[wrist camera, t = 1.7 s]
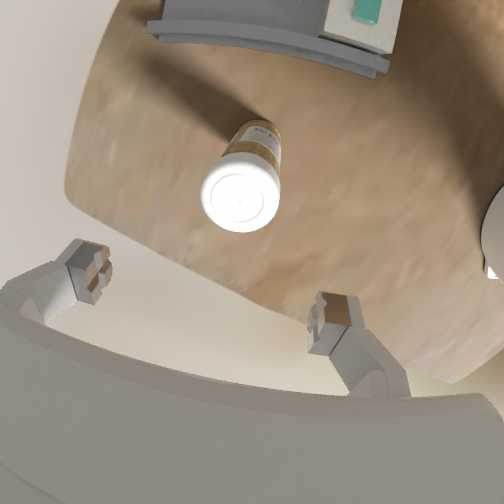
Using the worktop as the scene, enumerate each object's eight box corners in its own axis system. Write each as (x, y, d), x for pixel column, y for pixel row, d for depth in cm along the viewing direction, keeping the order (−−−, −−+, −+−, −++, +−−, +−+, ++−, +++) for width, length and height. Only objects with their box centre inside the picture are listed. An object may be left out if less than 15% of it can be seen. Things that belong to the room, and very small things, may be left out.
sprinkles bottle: (226, 137, 27) (182, 192, 16) (263, 109, 25) (243, 144, 14) (255, 171, 29) (233, 247, 18) (292, 146, 27) (296, 209, 16)
